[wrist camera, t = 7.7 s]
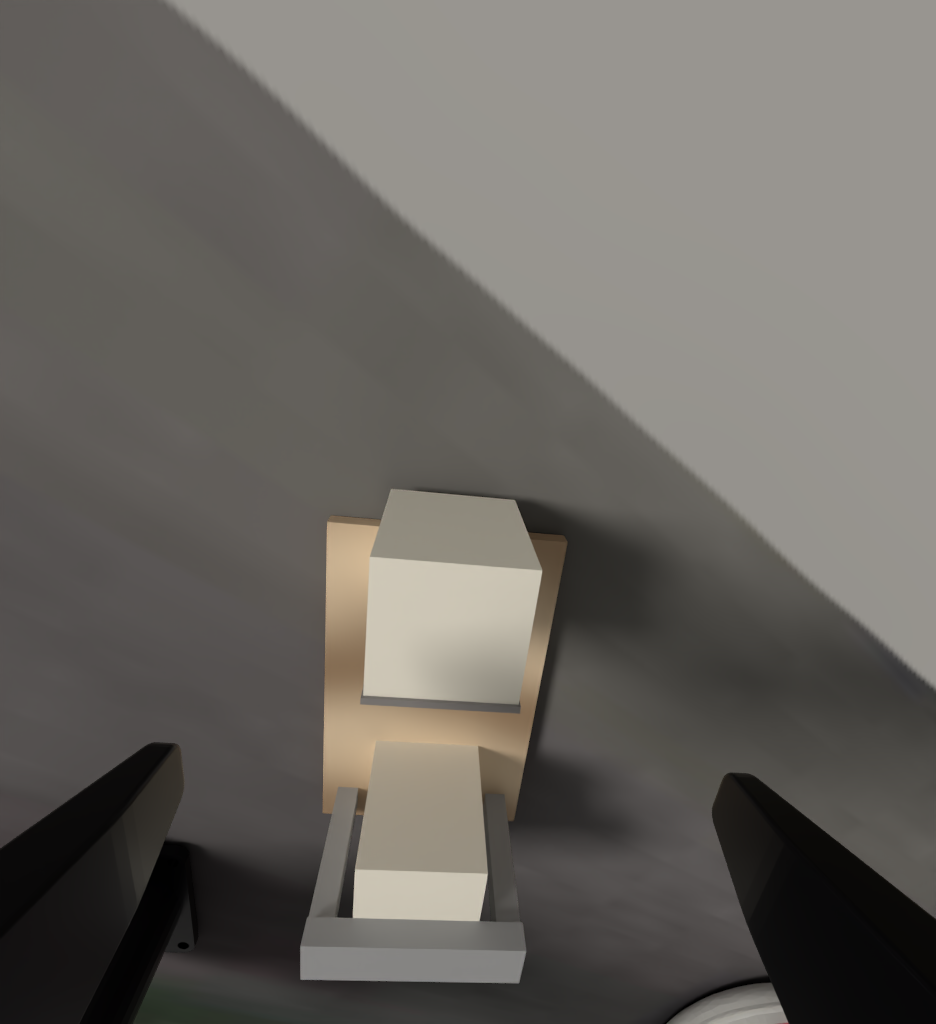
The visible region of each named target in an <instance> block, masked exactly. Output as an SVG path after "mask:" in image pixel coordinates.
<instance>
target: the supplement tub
mask: <svg viewBox="0 0 936 1024" xmlns="http://www.w3.org/2000/svg"><path fill="white" fill-rule="evenodd" d="M666 1024H789V1023H788V1021H787V1018H786V1016H785V1014H784V1011H783V1009H782V1007H781V1004H780V1002H779V999H778V997H777V995H776V992H775V990H774V988H773V985H772V983H757V984H750V985H744V986H740V987H735V988H732V989H728V990H725V991H722V992H719V993H716V994H713V995H711V996H708V997H706V998H704V999H701V1000H699V1001H697V1002H696V1003H694V1004H692V1005H690V1006H689V1007H687V1008H685V1009H684V1010H682V1011H681V1012H679V1013H678V1014H677V1015H675V1016H674V1017H673V1018H672V1019H671V1020H670V1021H669V1022H668V1023H666Z"/></svg>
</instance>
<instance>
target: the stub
mask: <svg viewBox="0 0 936 1024" xmlns="http://www.w3.org/2000/svg"><path fill="white" fill-rule="evenodd" d="M541 576H542V568H541V565H540V563H539V560H538V558H537V555H536V553H535V550H534V547H533V545H532V542H531V540H530V537H529V535H528V532H527V529H526V527H525V524H524V522H523V519H522V517H521V514H520V511H519V509H518V506H517V504H516V501H515V500H510V499H499V498H487V497H476V496H465V495H454V494H443V493H432V492H421V491H410V490H399V489H391V491H390V494H389V497H388V501H387V504H386V507H385V510H384V513H383V516H382V520H381V523H380V526H379V529H378V532H377V535H376V538H375V542H374V545H373V548H372V551H371V554H370V561H369V582H368V603H367V624H366V645H365V666H364V685H363V689H362V694H361V698H360V704H361V705H378V706H395V707H413V708H430V709H447V710H465V711H482V712H499V713H517V714H520V710H521V705H520V700H519V699H520V694H521V688H522V683H523V677H524V671H525V666H526V660H527V655H528V649H529V643H530V638H531V632H532V627H533V621H534V615H535V610H536V604H537V599H538V593H539V587H540V582H541Z"/></svg>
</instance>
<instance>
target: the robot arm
mask: <svg viewBox="0 0 936 1024" xmlns="http://www.w3.org/2000/svg"><path fill="white" fill-rule="evenodd" d="M183 790H184V774H183V765H182V756H181V749H180V747H179V745H178V744H175V743H159V742H154V743H150V744H148V745H146V746H144V747H143V748H142V749H140V750H139V751H137V752H136V753H135V754H133V755H132V756H130V757H129V758H128V759H126V760H125V761H123V762H122V763H120V764H119V765H118V766H116V767H115V768H113V769H112V770H111V771H109V772H108V773H106V774H105V775H103V776H102V777H101V778H99V779H98V780H96V781H95V782H94V783H92V784H91V785H89V786H88V787H87V788H85V789H84V790H82V791H81V792H79V793H78V794H77V795H75V796H74V797H72V798H71V799H70V800H68V801H67V802H65V803H64V804H63V805H61V806H60V807H58V808H57V809H55V810H54V811H53V812H51V813H50V814H48V815H47V816H46V817H44V818H43V819H41V820H40V821H38V822H37V823H36V824H34V825H33V826H31V827H30V828H29V829H27V830H26V831H24V832H23V833H22V834H20V835H19V836H17V837H16V838H14V839H13V840H12V841H10V842H9V843H7V844H6V845H5V846H3V847H2V848H0V1024H133V1022H134V1019H135V1017H136V1015H137V1013H138V1010H139V1008H140V1006H141V1004H142V1001H143V999H144V997H145V995H146V992H147V990H148V988H149V986H150V983H151V981H152V979H153V977H154V974H155V972H156V970H157V968H158V965H159V963H160V961H161V959H162V956H163V954H164V952H190V951H192V950H193V949H194V947H195V945H196V942H197V940H198V928H197V919H196V910H195V901H194V892H193V883H192V874H191V866H190V857H189V852H188V851H187V850H186V849H185V848H183V847H181V846H175V845H163V843H164V841H165V838H166V836H167V833H168V831H169V828H170V826H171V823H172V820H173V818H174V815H175V813H176V810H177V808H178V805H179V803H180V800H181V798H182V794H183ZM712 818H713V823H714V826H715V829H716V832H717V835H718V838H719V841H720V844H721V848H722V851H723V854H724V857H725V860H726V863H727V866H728V869H729V872H730V875H731V878H732V881H733V884H734V887H735V890H736V893H737V896H738V900H739V903H740V906H741V909H742V911H743V914H744V917H745V920H746V923H747V925H748V928H749V930H750V933H751V935H752V938H753V940H754V943H755V945H756V947H757V950H758V952H759V955H760V957H761V959H762V962H763V964H764V966H765V969H766V971H767V973H768V976H769V978H770V981H771V983H772V985H773V988H774V990H775V992H776V995H777V997H778V999H779V1002H780V1004H781V1007H782V1009H783V1011H784V1014H785V1016H786V1018H787V1021H788V1023H789V1024H936V919H935V918H934V917H932V916H931V915H930V914H929V913H927V912H926V911H925V910H924V909H922V908H921V907H920V906H919V905H917V904H916V903H915V902H913V901H912V900H911V899H910V898H908V897H907V896H906V895H905V894H903V893H902V892H901V891H900V890H898V889H897V888H896V887H895V886H893V885H892V884H891V883H889V882H888V881H887V880H886V879H884V878H883V877H882V876H881V875H879V874H878V873H877V872H876V871H874V870H873V869H872V868H870V867H869V866H868V865H867V864H865V863H864V862H863V861H862V860H860V859H859V858H858V857H857V856H855V855H854V854H853V853H851V852H850V851H849V850H848V849H846V848H845V847H844V846H843V845H841V844H840V843H839V842H838V841H836V840H835V839H834V838H832V837H831V836H830V835H829V834H827V833H826V832H825V831H824V830H822V829H821V828H820V827H819V826H817V825H816V824H815V823H813V822H812V821H811V820H810V819H808V818H807V817H806V816H805V815H803V814H802V813H801V812H800V811H798V810H797V809H796V808H794V807H793V806H792V805H791V804H789V803H788V802H787V801H786V800H784V799H783V798H782V797H781V796H779V795H778V794H777V793H775V792H774V791H773V790H772V789H770V788H769V787H768V786H767V785H765V784H764V783H763V782H762V781H760V780H759V779H758V778H756V777H755V776H753V775H751V774H747V773H727V774H726V775H725V776H724V778H723V780H722V782H721V785H720V788H719V790H718V793H717V796H716V798H715V801H714V804H713V807H712Z"/></svg>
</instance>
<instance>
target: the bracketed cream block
mask: <svg viewBox="0 0 936 1024" xmlns="http://www.w3.org/2000/svg"><path fill="white" fill-rule="evenodd" d="M357 803H358V788H353V787H338V790H337V794H336V799H335V803H334V807H333V812H332V816H331V821H330V825H329V829H328V834H327V838H326V843H325V847H324V851H323V856H322V860H321V864H320V869H319V873H318V878H317V882H316V886H315V891H314V895H313V900H312V904H311V908H310V913H309V917H307V920H306V924H305V928H304V933H303V937H302V941H301V946H300V976H301V980H350V981H412V982H474V983H519V981H520V976H521V972H522V968H523V964H524V959H525V955H526V944H525V936H524V928H523V922H520V914H519V906H518V898H517V890H516V882H515V874H514V866H513V858H512V850H511V842H510V834H509V826H508V818H507V810H506V802H505V794H486V793H485V799H484V805H483V804H482V791H481V778H480V765H479V753H478V746H472V745H453V744H434V743H414V742H395V741H376V744H375V750H374V756H373V762H372V768H371V774H370V781H369V787H368V793H367V799H366V805H365V811H364V817H363V823H362V830H361V836H360V842H359V848H358V854H357V860H356V866H355V880H354V901H353V918H337V916H338V911H339V905H340V900H341V894H342V888H343V883H344V877H345V872H346V866H347V861H348V855H349V850H350V844H351V838H352V833H353V827H354V822H355V816H356V811H357ZM487 877H488V890H489V903H490V916H491V922H488V921H480V915H481V910H482V904H483V899H484V893H485V887H486V882H487Z"/></svg>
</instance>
